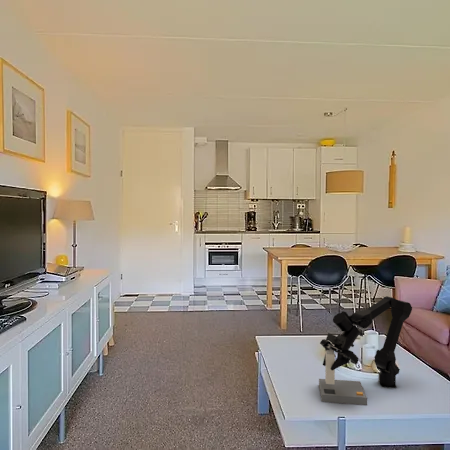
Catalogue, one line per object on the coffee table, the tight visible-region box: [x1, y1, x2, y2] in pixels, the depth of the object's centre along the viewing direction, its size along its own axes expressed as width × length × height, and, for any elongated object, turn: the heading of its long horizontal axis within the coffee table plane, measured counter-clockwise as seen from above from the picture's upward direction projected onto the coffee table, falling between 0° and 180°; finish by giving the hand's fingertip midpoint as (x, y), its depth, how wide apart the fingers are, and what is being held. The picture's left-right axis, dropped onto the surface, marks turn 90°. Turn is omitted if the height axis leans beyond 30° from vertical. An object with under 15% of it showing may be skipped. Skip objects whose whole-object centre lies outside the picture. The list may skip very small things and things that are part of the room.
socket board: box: [318, 378, 368, 406], centre depth 171 cm, size 18×16×4 cm
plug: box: [324, 350, 336, 384], centre depth 167 cm, size 3×3×13 cm
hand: (327, 367), depth 166 cm, fingers closed on plug, 5 cm apart
